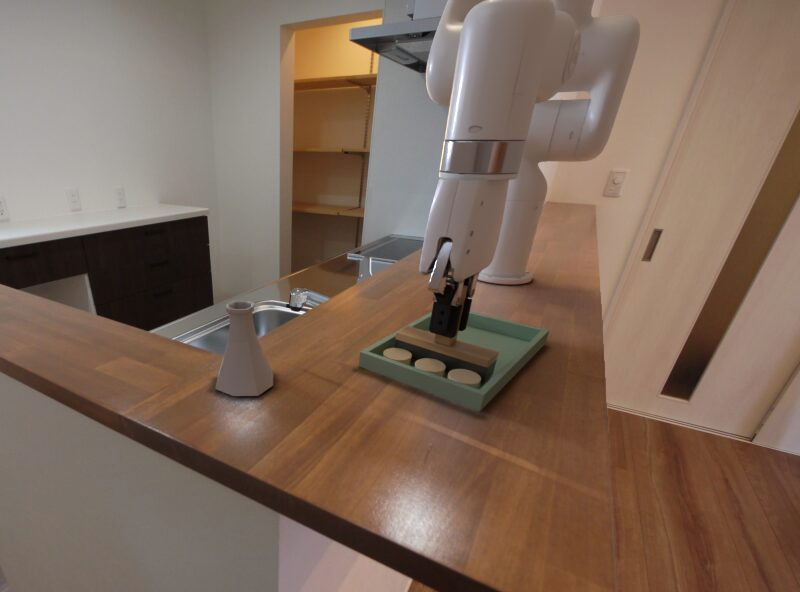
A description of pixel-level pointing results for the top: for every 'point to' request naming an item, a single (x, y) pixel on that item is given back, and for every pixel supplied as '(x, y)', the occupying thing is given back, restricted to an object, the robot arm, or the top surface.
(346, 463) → the top surface
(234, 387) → the flask
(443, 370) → the crumb
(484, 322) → the tray
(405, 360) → the crumb
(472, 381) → the crumb
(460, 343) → the brush
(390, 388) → the top surface
